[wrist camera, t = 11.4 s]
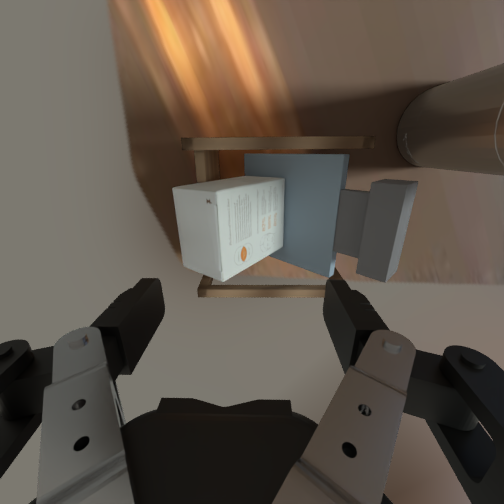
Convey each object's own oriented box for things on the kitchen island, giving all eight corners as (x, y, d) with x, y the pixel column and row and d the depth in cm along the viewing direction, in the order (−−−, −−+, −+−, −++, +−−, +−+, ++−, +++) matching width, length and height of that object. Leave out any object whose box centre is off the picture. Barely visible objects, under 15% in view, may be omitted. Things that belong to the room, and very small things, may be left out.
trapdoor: (425, 154, 19) (414, 155, 17) (392, 289, 23) (380, 302, 22) (255, 153, 31) (238, 153, 29) (256, 243, 35) (240, 249, 33)
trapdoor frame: (327, 141, 32) (375, 135, 19) (316, 246, 38) (348, 297, 25) (211, 142, 32) (180, 137, 19) (217, 246, 38) (198, 297, 25)
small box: (245, 175, 29) (169, 184, 21) (287, 177, 26) (215, 189, 18) (247, 239, 32) (181, 267, 24) (284, 248, 29) (221, 284, 21)
